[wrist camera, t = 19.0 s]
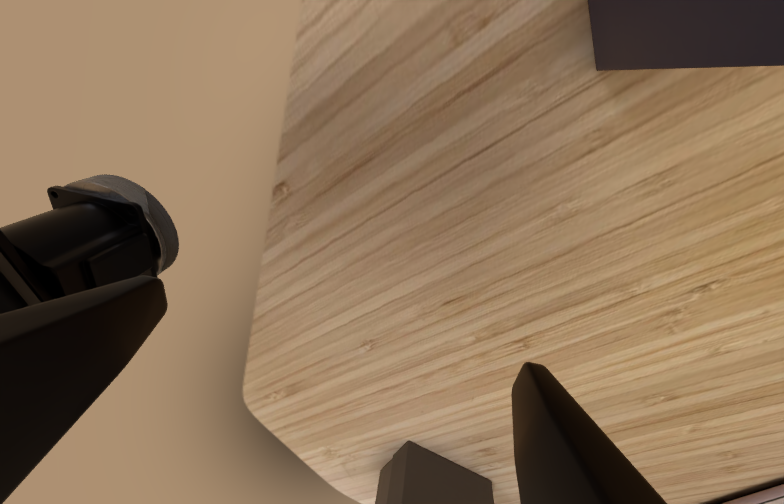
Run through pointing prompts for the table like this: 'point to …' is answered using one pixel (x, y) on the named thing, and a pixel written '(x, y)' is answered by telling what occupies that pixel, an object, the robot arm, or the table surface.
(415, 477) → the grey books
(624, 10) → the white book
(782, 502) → the smartphone
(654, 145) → the table surface
